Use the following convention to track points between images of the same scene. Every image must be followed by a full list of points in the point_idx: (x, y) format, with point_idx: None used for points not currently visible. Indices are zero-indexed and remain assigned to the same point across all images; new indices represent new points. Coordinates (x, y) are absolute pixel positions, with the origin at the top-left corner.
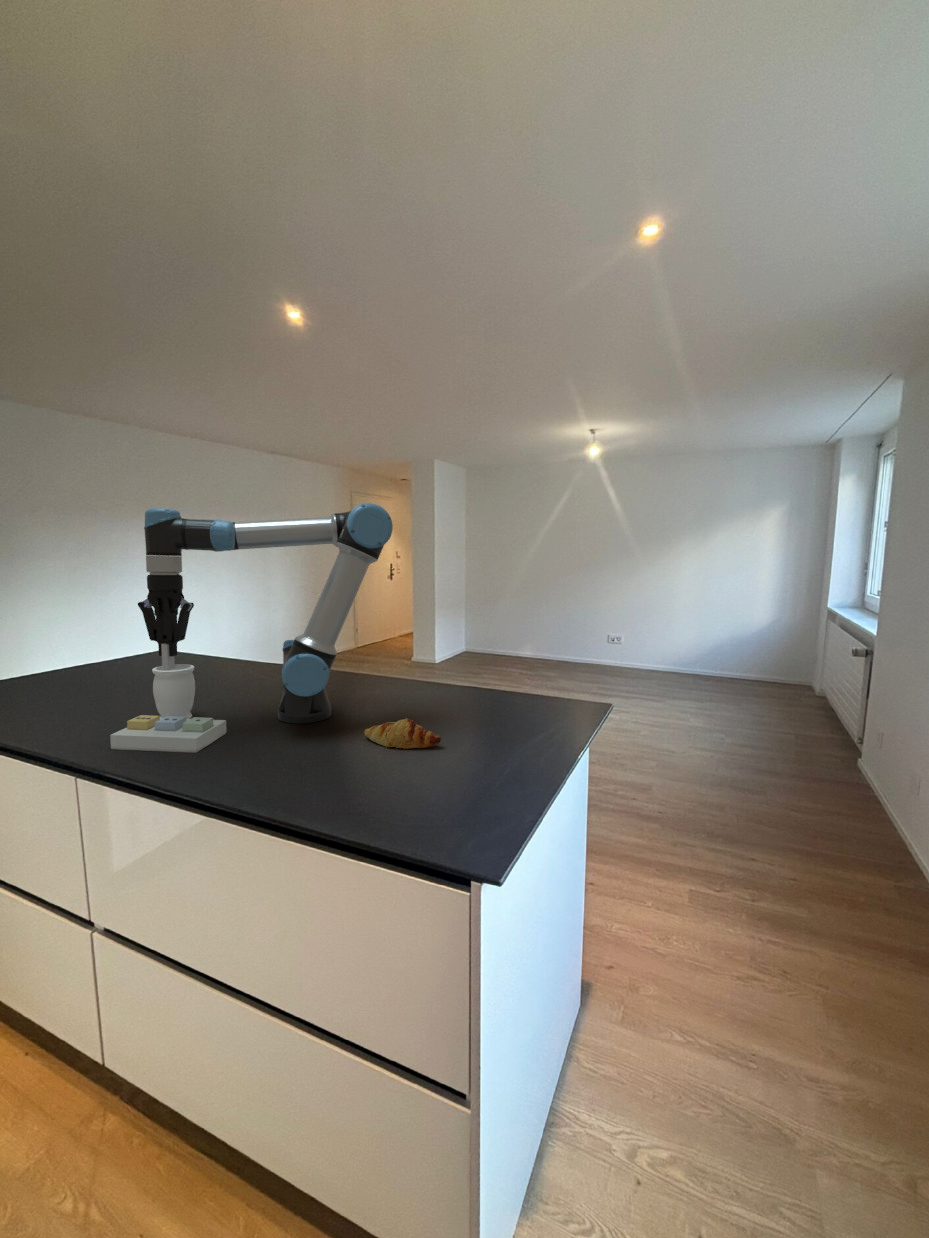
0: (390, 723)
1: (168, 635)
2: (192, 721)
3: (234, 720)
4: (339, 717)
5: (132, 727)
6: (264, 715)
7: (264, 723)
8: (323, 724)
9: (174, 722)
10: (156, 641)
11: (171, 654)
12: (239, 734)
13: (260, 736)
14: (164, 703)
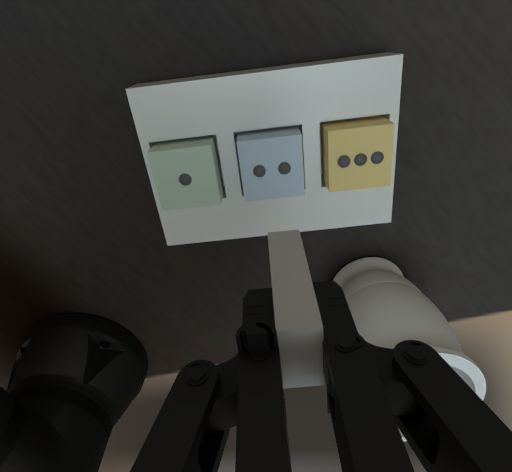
0: None
1: (268, 394)
2: (194, 168)
3: (220, 305)
4: (10, 365)
5: (371, 121)
6: (178, 344)
7: (138, 302)
8: (5, 323)
9: (240, 147)
10: (378, 347)
11: (259, 297)
12: (137, 227)
13: (77, 226)
14: (383, 283)
